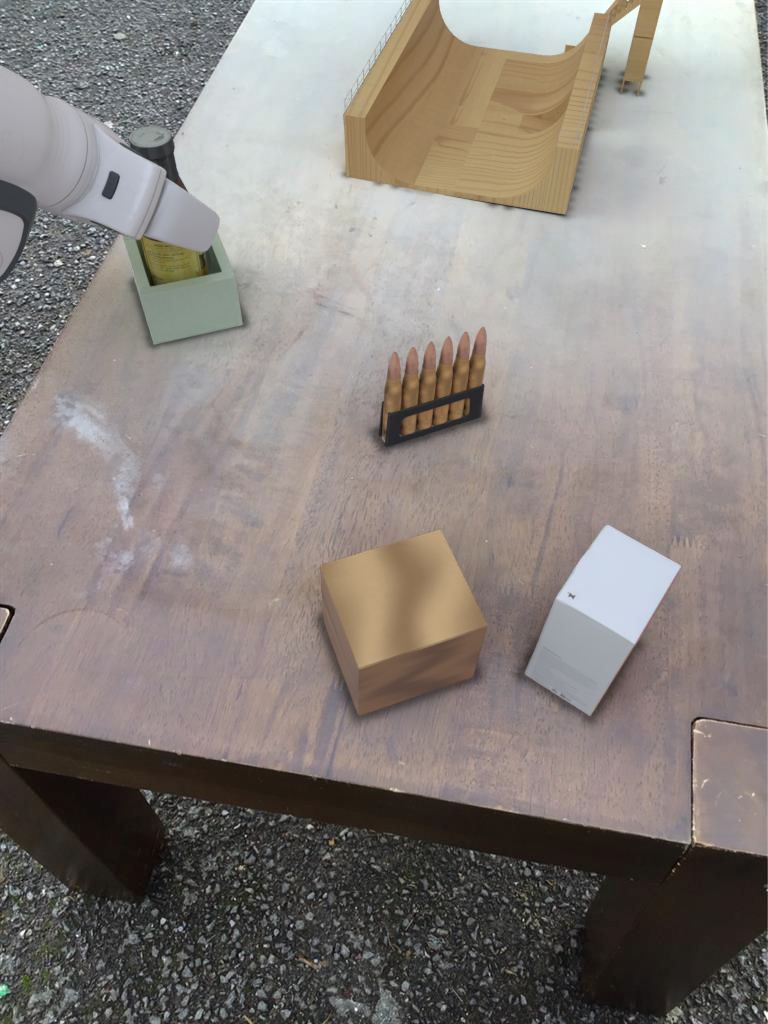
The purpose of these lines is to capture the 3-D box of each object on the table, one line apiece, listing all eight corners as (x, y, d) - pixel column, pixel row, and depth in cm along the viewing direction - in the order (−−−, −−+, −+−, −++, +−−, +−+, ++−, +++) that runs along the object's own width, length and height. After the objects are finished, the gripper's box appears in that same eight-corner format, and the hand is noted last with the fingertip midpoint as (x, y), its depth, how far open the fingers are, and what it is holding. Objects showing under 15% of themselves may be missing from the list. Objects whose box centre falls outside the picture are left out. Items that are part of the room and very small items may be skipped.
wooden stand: (358, 718, 65) (358, 667, 57) (323, 623, 70) (319, 564, 62) (473, 678, 67) (488, 625, 59) (431, 589, 72) (440, 529, 64)
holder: (154, 347, 88) (140, 296, 83) (136, 285, 94) (121, 233, 89) (243, 327, 91) (235, 276, 85) (219, 268, 97) (211, 216, 91)
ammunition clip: (472, 407, 85) (487, 317, 75) (480, 419, 84) (497, 330, 74) (378, 437, 82) (381, 348, 72) (385, 450, 81) (389, 362, 71)
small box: (590, 719, 65) (636, 646, 55) (521, 675, 67) (552, 597, 57) (634, 645, 69) (684, 564, 59) (567, 606, 71) (605, 521, 61)
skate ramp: (419, 49, 131) (423, -67, 118) (642, 78, 126) (672, -40, 113) (346, 185, 109) (341, 60, 96) (613, 229, 103) (647, 102, 90)
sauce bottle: (222, 314, 92) (198, 146, 75) (170, 332, 89) (133, 163, 73) (199, 281, 95) (171, 113, 79) (148, 297, 93) (108, 128, 77)
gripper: (-19, 159, 74) (89, 205, 87) (142, 244, 68) (234, 281, 81) (4, 90, 73) (110, 148, 86) (171, 171, 67) (259, 220, 79)
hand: (171, 213), depth 83 cm, fingers closed on sauce bottle, 6 cm apart
